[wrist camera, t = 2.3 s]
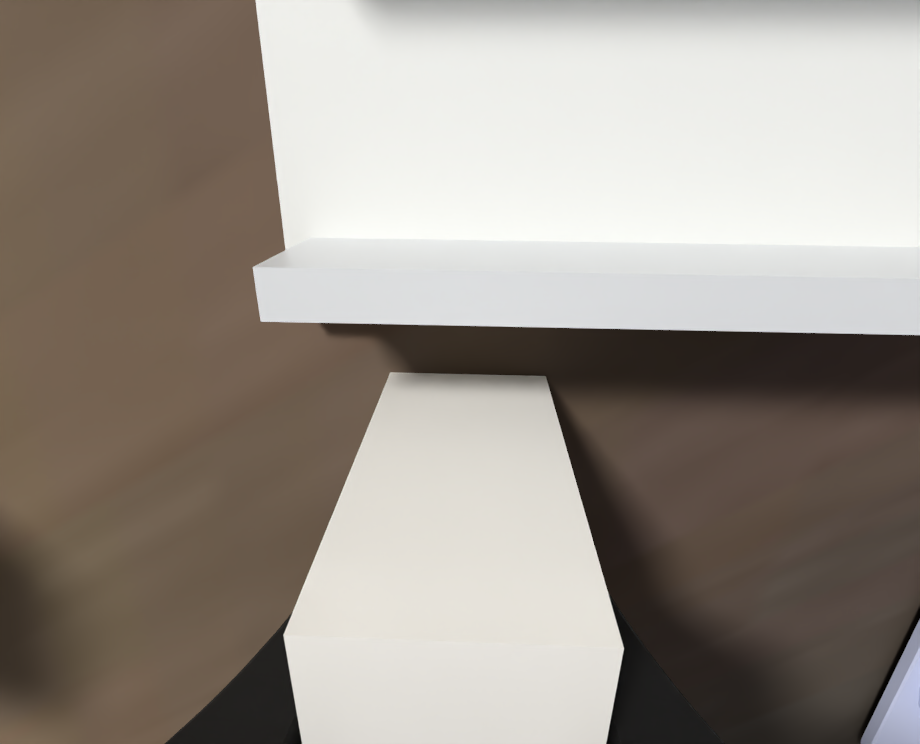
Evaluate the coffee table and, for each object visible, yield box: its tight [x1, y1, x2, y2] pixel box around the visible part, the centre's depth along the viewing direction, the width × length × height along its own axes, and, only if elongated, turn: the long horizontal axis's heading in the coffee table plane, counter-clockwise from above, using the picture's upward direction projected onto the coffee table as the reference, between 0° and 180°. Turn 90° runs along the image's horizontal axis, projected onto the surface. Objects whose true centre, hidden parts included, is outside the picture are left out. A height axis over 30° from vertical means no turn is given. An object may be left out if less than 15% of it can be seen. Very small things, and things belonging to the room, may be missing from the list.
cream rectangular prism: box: [283, 372, 624, 744], centre depth 10 cm, size 4×8×7 cm, turn 179°
